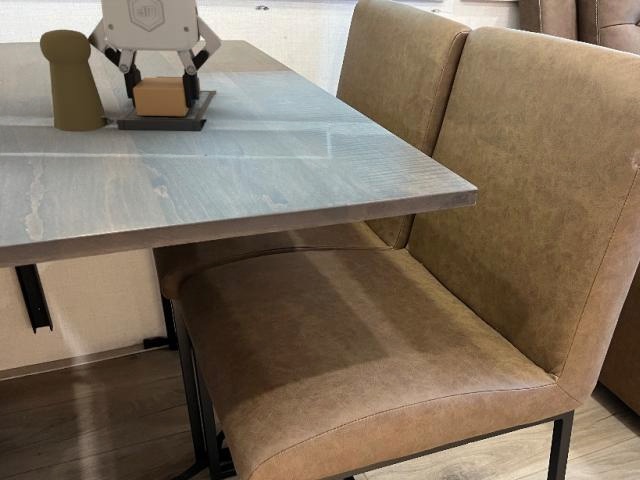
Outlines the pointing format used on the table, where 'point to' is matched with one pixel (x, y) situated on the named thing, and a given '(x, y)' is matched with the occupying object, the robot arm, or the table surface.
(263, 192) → the table surface
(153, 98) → the loose pad
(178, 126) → the frame
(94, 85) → the olive pawn
